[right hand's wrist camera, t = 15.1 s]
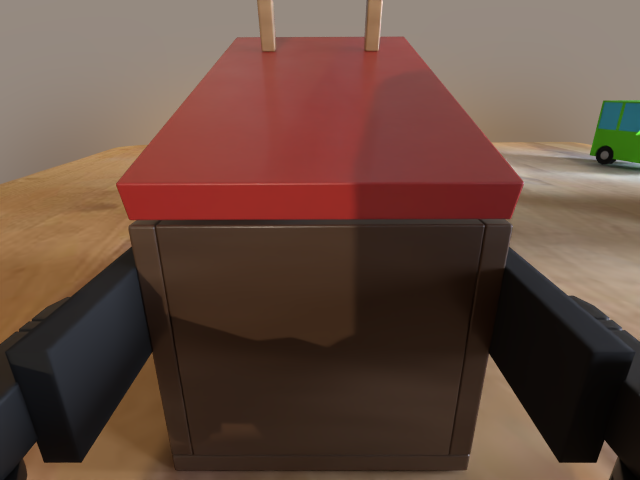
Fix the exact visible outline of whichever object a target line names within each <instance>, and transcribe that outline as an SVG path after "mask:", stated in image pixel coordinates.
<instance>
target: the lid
mask: <svg viewBox="0 0 640 480" xmlns="http://www.w3.org/2000/svg"><path fill="white" fill-rule="evenodd" d="M257 4H258V15H259V26H260V37H244V38H243V37H242V38H241V37H238V38H236V39H235V40H234V42H233V43H232V44H231V45H230V46H229V48H228V49H227V50H226V51H225V53H224V54H223V55H222V56H221V57H220V59H219V60H218V61H217V62H216V63H215V65H214V66H213V67H212V68H211V70H210V71H209V72H208V73H207V74H206V76H205V77H204V78H203V79H202V80H201V82H200V83H199V84H198V85H197V86H196V88H195V89H194V90H193V91H192V92H191V94H190V95H189V96H188V97H187V99H186V100H185V101H184V102H183V103H182V105H181V106H180V107H179V108H178V109H177V111H176V112H175V113H174V114H173V116H172V117H171V118H170V119H169V120H168V122H167V123H166V124H165V125H164V126H163V128H162V129H161V130H160V131H159V133H158V134H157V135H156V136H155V137H154V138H153V140H152V141H151V142H150V143H149V145H148V146H147V147H146V148H145V149H144V151H143V152H142V153H141V154H140V155H139V157H138V158H137V159H136V160H135V161H134V163H133V164H132V165H131V166H130V167H129V169H128V170H127V171H126V172H125V174H124V175H123V176H122V177H121V178H120V180H119V181H118V182H117V183H116V186H117V189H118V191H119V194H120V196H121V199H122V202H123V204H124V207H125V210H126V212H127V215H128V218H129V219H130V220H339V219H511V217H512V215H513V212H514V209H515V206H516V204H517V201H518V198H519V196H520V193H521V190H522V187H523V185H524V182H523V181H522V179H521V178H520V177H519V176H518V175H517V173H516V172H515V171H514V170H513V169H512V167H511V166H510V165H509V164H508V162H507V161H506V160H505V159H504V158H503V156H502V155H501V154H500V153H499V152H498V150H497V149H496V148H495V147H494V146H493V144H492V143H491V142H490V141H489V139H488V138H487V137H486V136H485V135H484V133H483V132H482V131H481V130H480V129H479V127H478V126H477V125H476V124H475V123H474V121H473V120H472V119H471V118H470V116H469V115H468V114H467V113H466V112H465V110H464V109H463V108H462V107H461V106H460V104H459V103H458V102H457V101H456V99H455V98H454V97H453V96H452V95H451V93H450V92H449V91H448V90H447V89H446V87H445V86H444V85H443V84H442V83H441V81H440V80H439V79H438V78H437V76H436V75H435V74H434V73H433V72H432V70H431V69H430V68H429V67H428V66H427V64H426V63H425V62H424V61H423V59H422V58H421V57H420V56H419V55H418V53H417V52H416V51H415V50H414V49H413V47H412V46H411V45H410V44H409V43H408V41H407V40H406V39H405V38H404V37H380V29H381V17H382V4H383V0H367V5H366V21H365V37H276V33H275V19H274V4H273V0H257Z"/></svg>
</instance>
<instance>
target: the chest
mask: <svg viewBox="0 0 640 480" xmlns="http://www.w3.org/2000/svg"><path fill="white" fill-rule="evenodd" d="M511 232H512V224H510V223H509V222H508V221H506V220H505V219H339V220H136V221H135V222H134V223H132V224H131V225H129V234H130V239H131V244H132V250H133V255H134V260H135V265H136V270H137V275H138V281H139V286H140V291H141V296H142V301H143V306H144V311H145V317H146V322H147V327H148V332H149V337H150V342H151V347H152V353H153V358H154V363H155V368H156V373H157V378H158V384H159V389H160V394H161V399H162V404H163V409H164V414H165V420H166V425H167V430H168V435H169V440H170V445H171V451H172V454H173V461H174V466H175V470H467V467H468V461H469V455H470V452H471V447H472V442H473V436H474V431H475V425H476V420H477V415H478V409H479V404H480V399H481V393H482V388H483V383H484V377H485V372H486V366H487V361H488V356H489V350H490V345H491V339H492V334H493V329H494V324H495V318H496V313H497V308H498V302H499V297H500V291H501V286H502V281H503V275H504V270H505V265H506V259H507V254H508V249H509V243H510V238H511Z"/></svg>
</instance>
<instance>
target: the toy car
mask: <svg viewBox="0 0 640 480" xmlns="http://www.w3.org/2000/svg"><path fill="white" fill-rule="evenodd" d="M590 155H592V156H596V159H597V161H598V163H600V164H612V163H613V162H615V161H616V160H622V161H629V162H635V163H640V100H620V101H603V104H602V108H601V112H600V116H599V120H598V124H597V128H596V132H595V136H594V140H593V144H592V148H591V152H590Z"/></svg>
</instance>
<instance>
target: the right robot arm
mask: <svg viewBox="0 0 640 480" xmlns="http://www.w3.org/2000/svg"><path fill="white" fill-rule="evenodd" d="M151 353H152V347H151V342H150V337H149V332H148V327H147V322H146V317H145V311H144V306H143V301H142V296H141V291H140V286H139V281H138V275H137V270H136V265H135V260H134V255H133V250H132V247H131V248H129V249H128V250H127V251H126V252H125V253H123V254H122V255H121V256H120V257H119V258H117V259H116V260H115V261H114V262H113V263H111V264H110V265H109V266H108V267H107V268H105V269H104V270H103V271H102V272H101V273H99V274H98V275H97V276H96V277H94V278H93V279H92V280H91V281H90V282H88V283H87V284H86V285H85V286H84V287H82V288H81V289H80V290H79V291H78V292H76V293H75V294H74V295H73V296H72V297H67V298H64V299H62V300H60V301H58V302H56V303H54V304H52V305H50V306H48V307H47V308H45V309H44V310H43V311H41V312H40V313H39V314H38V315H36V316H35V317H34V318H33V319H32V321H29V322H28V323H26V324H25V325H24V326H23V327H21V328H20V329H19V332H15V333H14V334H12V335H11V336H10V337H9V338H7V339H6V340H5V341H4V342H2V343H1V344H0V480H26V479H27V470H26V465H25V463H24V460H23V457H24V456H25V455H26V454H27V452H28V451H29V450H30V449H31V447H32V446H33V445H34V444H35V442H36V441H37V444H38V447H39V449H40V452H41V455H42V458H43V461H44V463H81V462H82V461H83V459H84V457H85V456H86V454H87V453H88V451H89V450H90V448H91V447H92V445H93V443H94V442H95V440H96V439H97V437H98V436H99V434H100V433H101V431H102V429H103V428H104V426H105V425H106V423H107V422H108V420H109V419H110V417H111V415H112V414H113V412H114V411H115V409H116V408H117V406H118V404H119V403H120V401H121V400H122V398H123V397H124V395H125V394H126V392H127V390H128V389H129V387H130V386H131V384H132V383H133V381H134V380H135V378H136V376H137V375H138V373H139V372H140V370H141V369H142V367H143V365H144V364H145V362H146V361H147V359H148V358H149V356H150V355H151ZM489 354H490V355H491V357H492V359H493V360H494V362H495V363H496V365H497V366H498V368H499V369H500V371H501V373H502V374H503V376H504V377H505V379H506V380H507V382H508V383H509V385H510V387H511V388H512V390H513V391H514V393H515V394H516V396H517V398H518V399H519V401H520V402H521V404H522V405H523V407H524V408H525V410H526V412H527V413H528V415H529V416H530V418H531V419H532V421H533V422H534V424H535V426H536V427H537V429H538V430H539V432H540V433H541V435H542V436H543V438H544V440H545V441H546V443H547V444H548V446H549V447H550V449H551V451H552V452H553V454H554V455H555V457H556V458H557V460H558V461H559V463H596V462H597V459H598V457H599V454H600V451H601V448H602V445H603V443H604V440H605V441H606V442H607V443H608V445H609V446H610V447H611V448H612V449H613V451H614V452H615V453H616V454H617V456H618V458H617V460H616V463H615V465H614V468H613V471H612V473H611V476H610V479H609V480H640V342H639V341H638V340H637V339H636V338H634V337H633V336H632V335H631V334H629V333H628V332H627V331H625V330H622V327H620V326H619V325H618V324H617V323H615V322H614V321H613V320H609V317H608V316H606V315H605V314H604V313H603V312H601V311H600V310H599V309H597V308H596V307H595V306H593V305H591V304H589V303H587V302H585V301H583V300H581V299H579V298H577V297H575V296H568V295H567V294H565V293H564V292H563V291H562V290H560V289H559V288H558V287H557V286H556V285H554V284H553V283H552V282H551V281H550V280H548V279H547V278H546V277H545V276H544V275H542V274H541V273H540V272H539V271H538V270H536V269H535V268H534V267H533V266H532V265H530V264H529V263H528V262H527V261H526V260H524V259H523V258H522V257H521V256H519V255H518V254H517V253H516V252H515V251H513V250H512V249H511V248H510V247H509V249H508V254H507V259H506V265H505V270H504V275H503V281H502V286H501V291H500V297H499V302H498V308H497V313H496V318H495V324H494V329H493V334H492V339H491V345H490V350H489Z"/></svg>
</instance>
